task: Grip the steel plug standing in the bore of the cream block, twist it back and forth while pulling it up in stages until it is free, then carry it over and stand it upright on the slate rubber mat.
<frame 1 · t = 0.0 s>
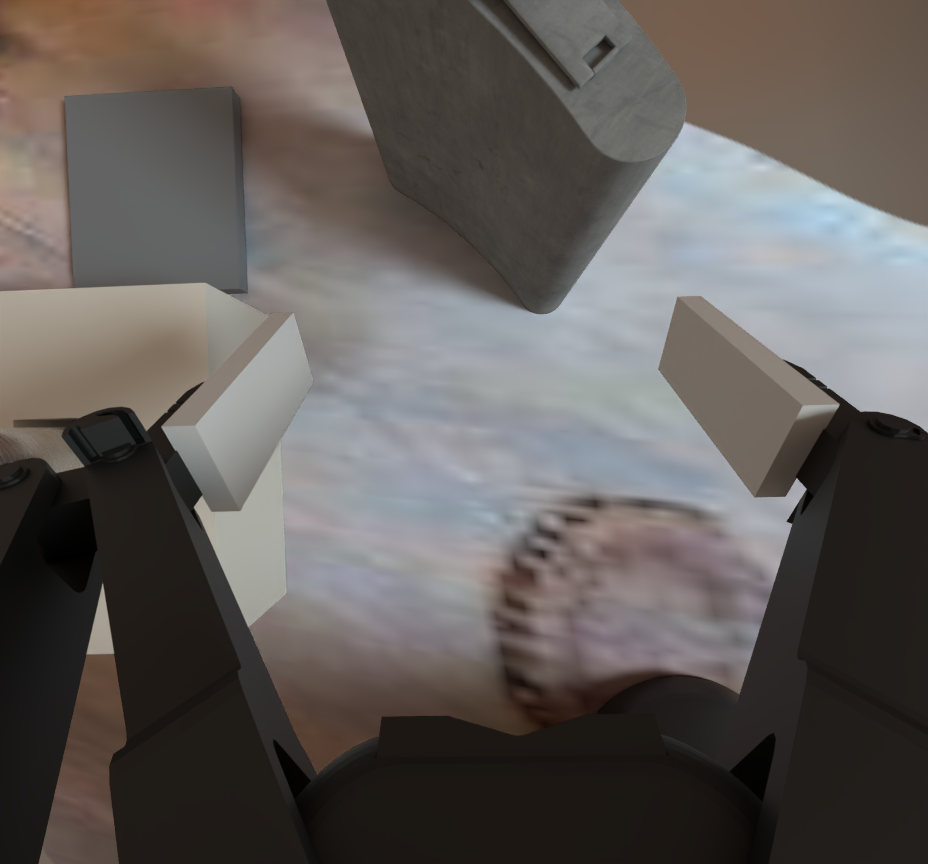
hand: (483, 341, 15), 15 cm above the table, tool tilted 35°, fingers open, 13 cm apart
steel plug: (164, 461, 30), point 1 cm above the table, touching bore block
slate mat: (162, 199, 31), on the table
hip flask: (480, 228, 30), on the table
bore block: (174, 460, 31), on the table
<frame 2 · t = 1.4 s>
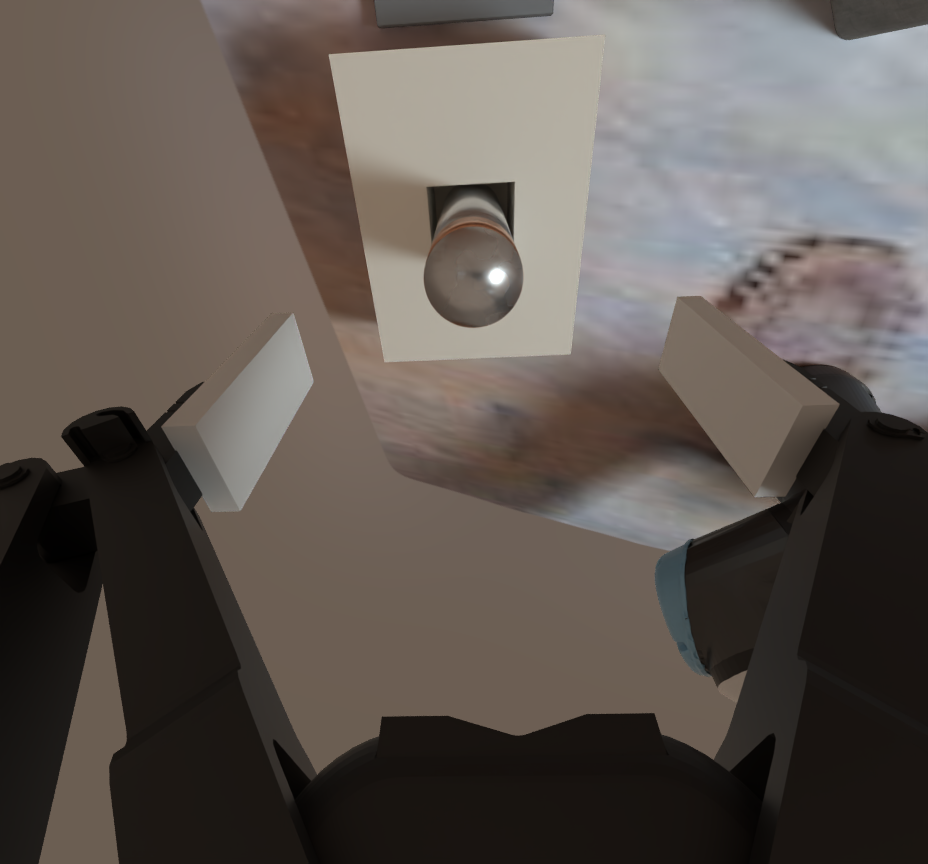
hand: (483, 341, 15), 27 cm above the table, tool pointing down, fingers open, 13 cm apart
steel plug: (471, 214, 36), point 1 cm above the table, touching bore block
bore block: (471, 212, 37), on the table
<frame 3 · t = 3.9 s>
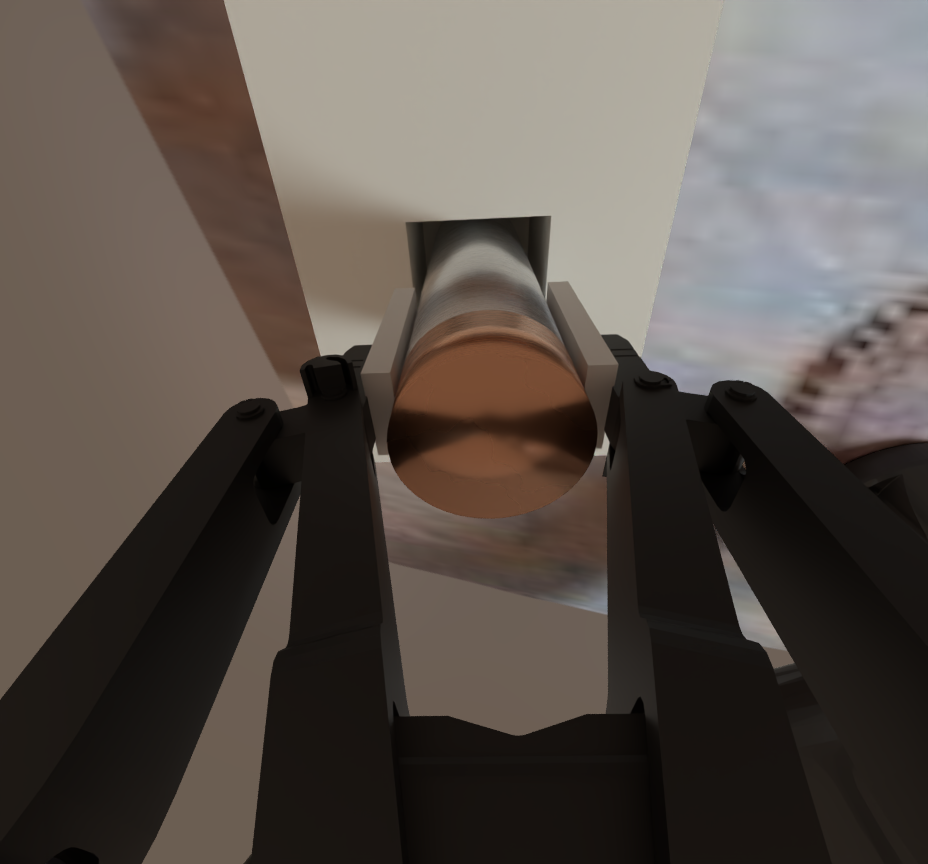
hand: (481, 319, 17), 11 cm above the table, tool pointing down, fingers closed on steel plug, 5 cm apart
steel plug: (476, 251, 25), point 1 cm above the table, touching bore block, gripper
bore block: (476, 247, 26), on the table
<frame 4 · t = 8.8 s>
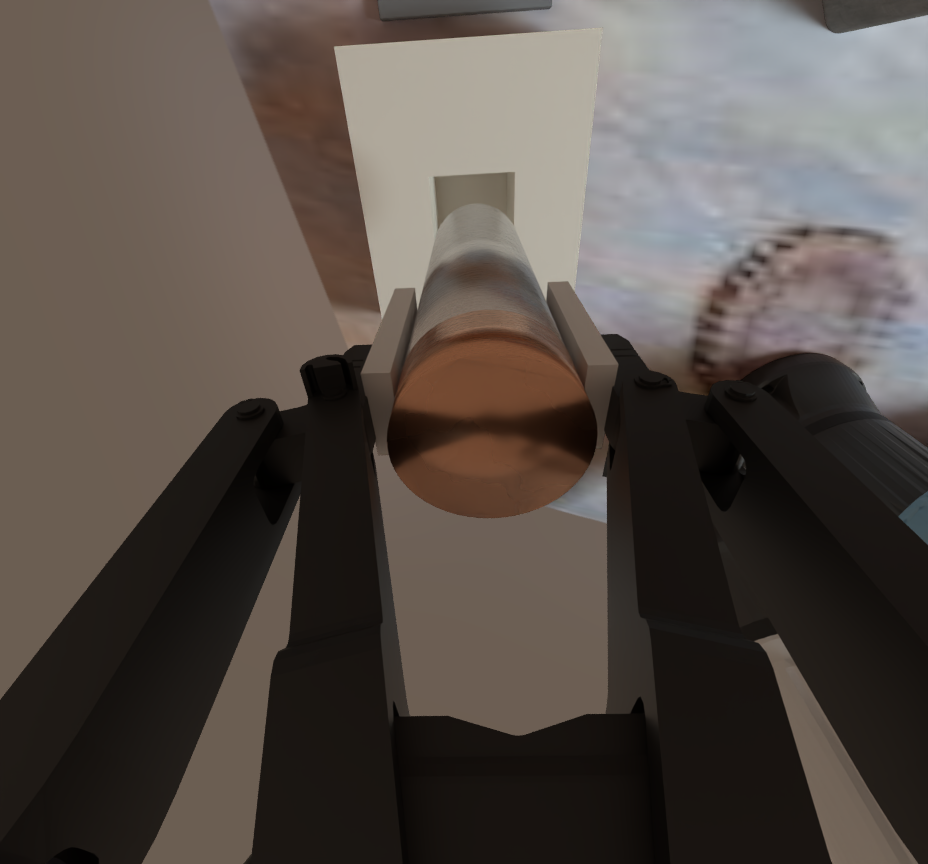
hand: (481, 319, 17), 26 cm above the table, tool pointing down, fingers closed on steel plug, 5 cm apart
steel plug: (476, 251, 25), point 16 cm above the table, touching gripper
bore block: (471, 203, 37), on the table
when the fingers open (12 cm above the table, at t = 14.1 s): steel plug stays where it is, resting on slate mat.
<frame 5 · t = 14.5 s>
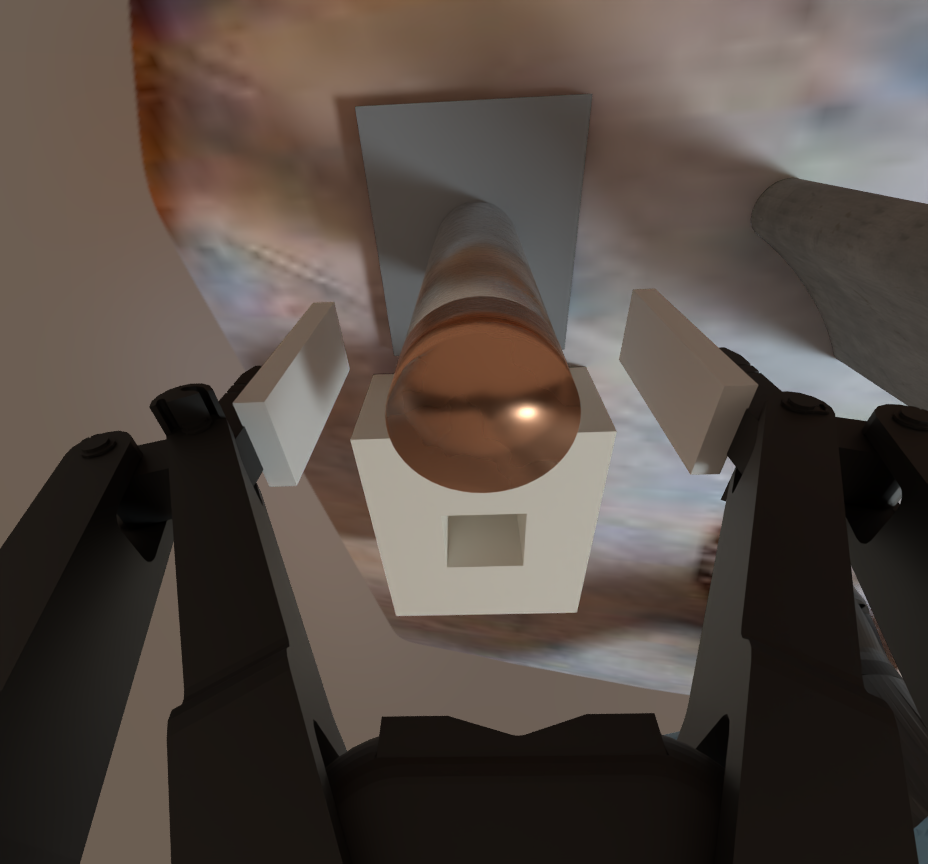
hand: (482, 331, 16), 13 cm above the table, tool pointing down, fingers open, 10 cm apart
steel plug: (476, 247, 26), point 1 cm above the table, touching slate mat
slate mat: (475, 243, 26), on the table
hip flask: (827, 275, 28), on the table
bore block: (481, 469, 38), on the table
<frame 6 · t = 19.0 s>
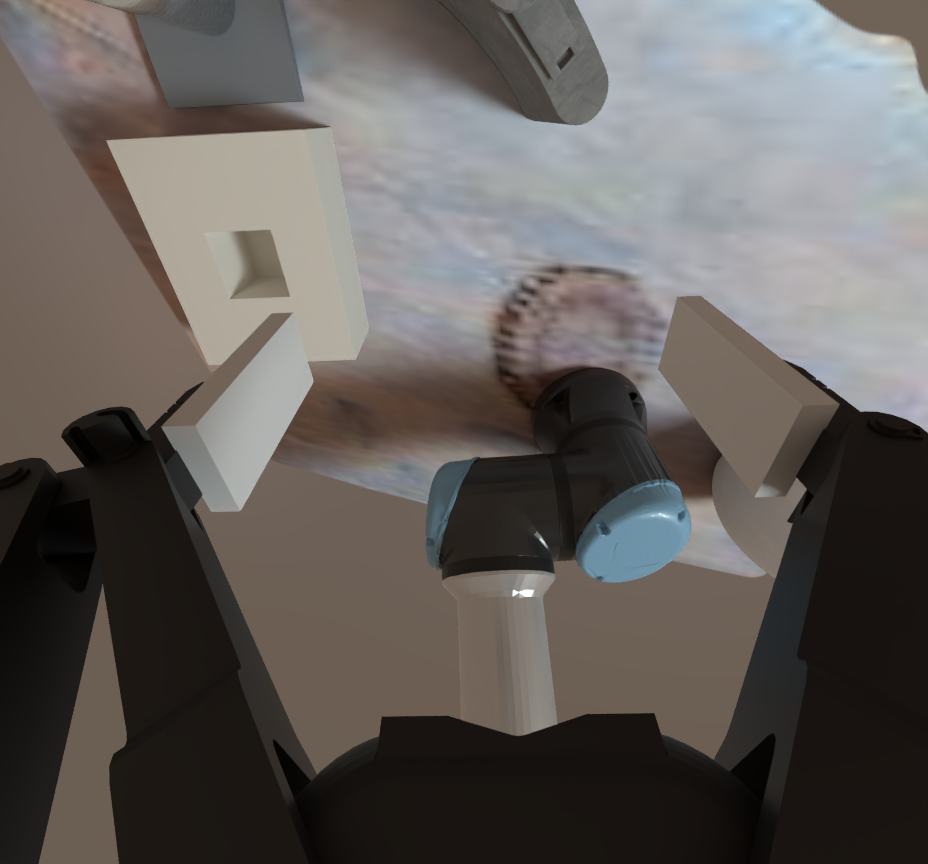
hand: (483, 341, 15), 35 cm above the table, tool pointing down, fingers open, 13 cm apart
pitcher: (774, 462, 64), on the table
hip flask: (491, 30, 36), on the table
bore block: (279, 244, 46), on the table
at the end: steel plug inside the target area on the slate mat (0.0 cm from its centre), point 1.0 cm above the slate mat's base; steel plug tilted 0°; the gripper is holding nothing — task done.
